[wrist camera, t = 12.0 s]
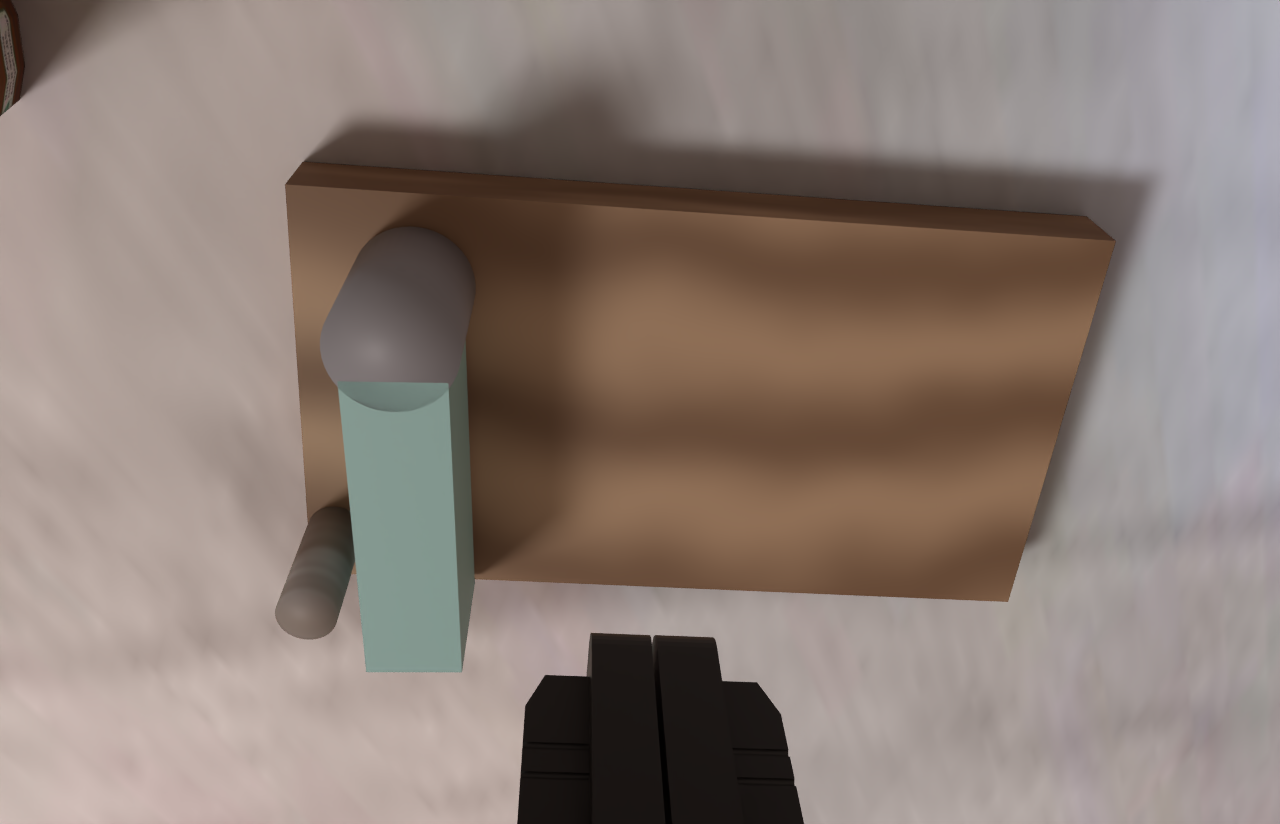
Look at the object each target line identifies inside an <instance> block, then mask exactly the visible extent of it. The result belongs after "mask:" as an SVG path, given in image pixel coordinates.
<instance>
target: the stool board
mask: <svg viewBox="0 0 1280 824" xmlns="http://www.w3.org/2000/svg"><path fill="white" fill-rule="evenodd" d="M285 189H286V204H287V219H288V233H289V248H290V263H291V278H292V293H293V308H294V323H295V338H296V353H297V368H298V383H299V398H300V413H301V428H302V443H303V458H304V473H305V488H306V503H307V518H308V525H307V528H306V531H305V533H304V536H303V538H302V541H301V544H300V546H299V549H298V551H297V554H296V557H295V559H294V562H293V564H292V567H291V570H290V572H289V575H288V577H287V580H286V583H285V585H284V588H283V591H282V593H281V596H280V598H279V601H278V604H277V606H276V610H275V616H276V620H277V622H278V624H279V625H280V627H281V628H282V629H283V630H284V631H285V632H287V633H288V634H290V635H292V636H294V637H297V638H301V639H318V638H321V637H324V636H326V635H327V634H329V633H330V632H331V631H332V630H333V629H334V627H335V625H336V623H337V619H338V616H339V613H340V609H341V606H342V603H343V599H344V596H345V593H346V590H347V586H348V583H349V580H350V576H351V574H357V573H356V563H355V553H354V543H353V533H352V523H351V513H350V503H349V493H348V483H347V473H346V463H345V453H344V443H343V433H342V423H341V413H340V403H339V393H338V387H337V386H336V384H335V383H334V382H333V381H332V379H331V378H330V376H329V375H328V373H327V371H326V369H325V367H324V364H323V361H322V358H321V352H320V336H321V331H322V327H323V324H324V322H325V320H326V318H327V316H328V314H329V312H330V310H331V308H332V306H333V304H334V302H335V300H336V298H337V296H338V294H339V292H340V290H341V288H342V286H343V284H344V282H345V280H346V278H347V276H348V274H349V272H350V270H351V268H352V266H353V264H354V262H355V260H356V258H357V256H358V254H359V252H360V251H361V249H362V248H363V247H364V246H365V245H366V243H367V242H369V241H370V240H371V239H372V238H374V237H375V236H377V235H378V234H380V233H382V232H384V231H387V230H390V229H393V228H398V227H410V226H411V227H420V228H425V229H429V230H432V231H435V232H437V233H439V234H441V235H443V236H445V237H446V238H448V239H449V240H451V241H452V242H453V243H454V244H455V245H457V246H458V248H459V249H460V250H461V251H462V252H463V253H464V255H465V256H466V257H467V259H468V261H469V263H470V265H471V267H472V270H473V273H474V277H475V283H476V294H475V299H474V304H473V309H472V313H471V318H470V322H469V327H468V331H467V335H466V365H467V391H468V418H469V444H470V470H471V496H472V523H473V549H474V575H475V579H485V580H508V581H532V582H555V583H579V584H602V585H626V586H649V587H673V588H696V589H720V590H743V591H767V592H790V593H814V594H837V595H861V596H884V597H908V598H931V599H955V600H978V601H1002V602H1008V600H1009V597H1010V593H1011V590H1012V587H1013V583H1014V580H1015V577H1016V573H1017V570H1018V567H1019V563H1020V560H1021V557H1022V553H1023V550H1024V547H1025V543H1026V540H1027V536H1028V533H1029V530H1030V526H1031V523H1032V520H1033V516H1034V513H1035V510H1036V506H1037V503H1038V500H1039V496H1040V493H1041V490H1042V486H1043V483H1044V480H1045V476H1046V473H1047V470H1048V466H1049V463H1050V460H1051V456H1052V453H1053V450H1054V446H1055V443H1056V440H1057V436H1058V433H1059V429H1060V426H1061V423H1062V419H1063V416H1064V413H1065V409H1066V406H1067V403H1068V399H1069V396H1070V393H1071V389H1072V386H1073V383H1074V379H1075V376H1076V373H1077V369H1078V366H1079V363H1080V359H1081V356H1082V353H1083V349H1084V346H1085V343H1086V339H1087V336H1088V333H1089V329H1090V326H1091V322H1092V319H1093V316H1094V312H1095V309H1096V306H1097V302H1098V299H1099V296H1100V292H1101V289H1102V286H1103V282H1104V279H1105V276H1106V272H1107V269H1108V266H1109V262H1110V259H1111V256H1112V252H1113V249H1114V246H1115V242H1116V241H1115V240H1114V239H1113V238H1112V237H1110V236H1109V235H1108V234H1107V233H1106V232H1104V231H1103V230H1102V229H1101V228H1100V227H1099V226H1097V225H1096V224H1095V223H1094V222H1093V221H1091V220H1090V219H1089V218H1088V217H1087V216H1073V215H1059V214H1044V213H1030V212H1016V211H1001V210H987V209H973V208H958V207H944V206H930V205H915V204H901V203H887V202H872V201H858V200H844V199H829V198H815V197H801V196H786V195H772V194H758V193H743V192H729V191H715V190H700V189H686V188H672V187H657V186H643V185H629V184H614V183H600V182H586V181H571V180H557V179H542V178H528V177H514V176H499V175H485V174H471V173H456V172H442V171H428V170H413V169H399V168H385V167H370V166H356V165H342V164H327V163H313V162H302V164H301V165H300V166H299V167H298V169H297V170H296V171H295V173H294V174H293V175H292V176H291V178H290V179H289V180H288V182H287V183H286V184H285Z"/></svg>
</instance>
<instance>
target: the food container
mask: <svg viewBox="0 0 1280 824" xmlns="http://www.w3.org/2000/svg"><path fill="white" fill-rule="evenodd" d="M24 68H25V62H24V55H23V48H22V41H21V34H20V27H19V20H18V14H17V12H16V10H15V8H14V5H13V3H12V1H11V0H0V116H1V115H2V114H3V113H4V112H6V111H7V110H8V109H9V108H10V107H12V106H13V105H14V104H15V103H16V102H17V101H19V100H20V95H21V88H22V82H23V75H24Z"/></svg>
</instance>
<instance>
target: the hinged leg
mask: <svg viewBox="0 0 1280 824" xmlns="http://www.w3.org/2000/svg"><path fill="white" fill-rule="evenodd" d="M475 294H476V283H475V277H474V273H473V270H472V267H471V265H470V263H469V261H468V259H467V257H466V256H465V255H464V253H463V252H462V251H461V250H460V249H459V248H458V246H457V245H455V244H454V243H453V242H452V241H451V240H449V239H448V238H446V237H445V236H443V235H441V234H439V233H437V232H435V231H432V230H429V229H425V228H420V227H411V226H410V227H398V228H393V229H390V230H387V231H384V232H382V233H380V234H378V235H377V236H375V237H374V238H372V239H371V240H370V241H369V242H367V243H366V245H365V246H364V247H363V248H362V249H361V251H360V252H359V254H358V256H357V258H356V260H355V262H354V264H353V266H352V268H351V270H350V272H349V274H348V276H347V278H346V280H345V282H344V284H343V286H342V288H341V290H340V292H339V294H338V296H337V298H336V300H335V302H334V304H333V306H332V308H331V310H330V312H329V314H328V316H327V318H326V320H325V322H324V324H323V327H322V331H321V336H320V352H321V358H322V361H323V364H324V367H325V369H326V371H327V373H328V375H329V376H330V378H331V379H332V381H333V382H334V383H335V384H336V386H337V387H338V393H339V403H340V413H341V423H342V433H343V443H344V453H345V463H346V473H347V483H348V493H349V503H350V513H351V523H352V533H353V543H354V553H355V563H356V573H357V583H358V593H359V603H360V614H361V624H362V634H363V644H364V654H365V664H366V672H462V668H463V661H464V654H465V647H466V640H467V633H468V626H469V619H470V612H471V605H472V598H473V591H474V584H475V575H474V549H473V523H472V496H471V470H470V444H469V418H468V391H467V365H466V335H467V331H468V327H469V322H470V318H471V313H472V309H473V304H474V299H475Z"/></svg>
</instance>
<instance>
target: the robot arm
mask: <svg viewBox="0 0 1280 824" xmlns="http://www.w3.org/2000/svg"><path fill="white" fill-rule="evenodd" d="M517 824H804V822H803V817H802V812H801V807H800V803H799V798H798V793H797V788H796V786H794V774H793V769H792V765H791V760H790V757H788V746H787V741H786V736H785V732H784V727H783V722H782V717H781V714H780V712H779V711H778V710H777V708H776V707H775V706H774V704H773V703H772V702H771V700H770V699H769V698H768V696H767V695H766V694H765V692H764V691H763V690H762V688H761V687H760V686H759V684H758V683H757V682H729V681H722V677H721V671H720V664H719V658H718V651H717V645H716V641H715V639H714V638H713V637H688V636H662V635H655V636H654V638H653V642H651V637H650V635H630V634H604V633H591V634H590V641H589V653H588V665H587V677H583V676H556V675H545V676H544V678H543V679H542V681H541V682H540V684H539V686H538V687H537V689H536V690H535V692H534V693H533V695H532V696H531V698H530V699H529V701H528V702H527V704H526V706H525V719H524V733H523V749H522V763H521V778H520V792H519V807H518V822H517Z"/></svg>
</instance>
